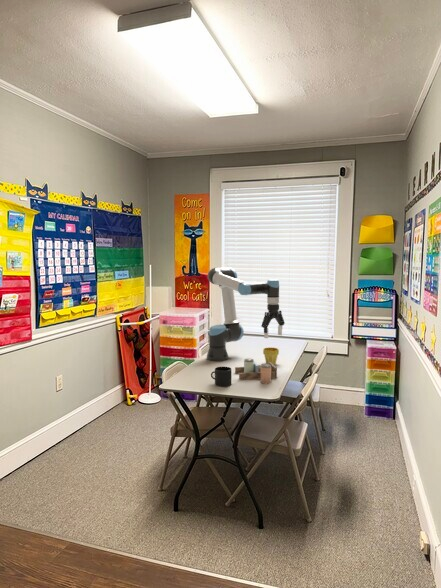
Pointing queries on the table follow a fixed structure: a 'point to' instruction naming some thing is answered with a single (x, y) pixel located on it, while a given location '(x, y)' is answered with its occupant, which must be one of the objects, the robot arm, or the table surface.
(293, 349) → the table surface
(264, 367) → the clay jar
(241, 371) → the lane
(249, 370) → the sage jar
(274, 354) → the plant pot
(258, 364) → the pusher
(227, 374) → the mug
